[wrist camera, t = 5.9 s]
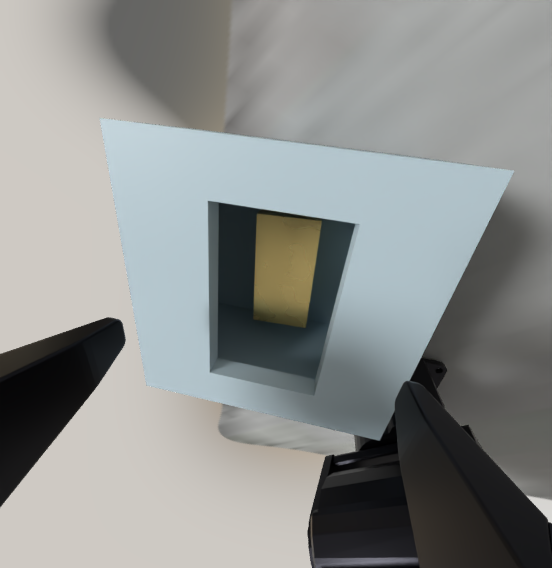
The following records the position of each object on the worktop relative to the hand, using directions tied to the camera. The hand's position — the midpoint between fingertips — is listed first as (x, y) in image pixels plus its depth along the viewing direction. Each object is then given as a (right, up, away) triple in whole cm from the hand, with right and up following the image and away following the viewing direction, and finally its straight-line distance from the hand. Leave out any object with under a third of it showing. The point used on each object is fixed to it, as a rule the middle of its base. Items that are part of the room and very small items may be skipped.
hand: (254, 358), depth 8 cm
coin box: (+2, +5, +9) cm, 10 cm away
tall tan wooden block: (+2, +5, +9) cm, 10 cm away
